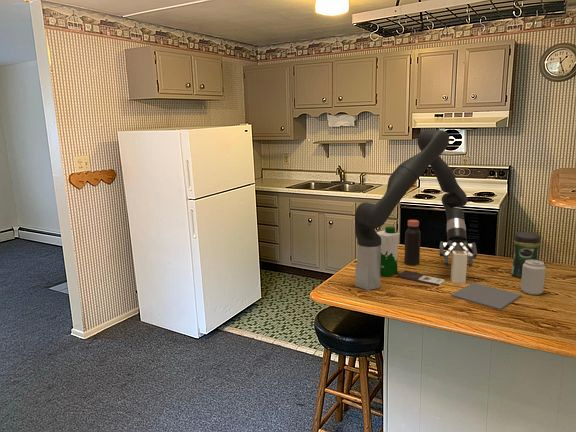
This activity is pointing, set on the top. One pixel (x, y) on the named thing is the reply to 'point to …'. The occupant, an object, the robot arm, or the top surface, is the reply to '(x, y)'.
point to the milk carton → (389, 251)
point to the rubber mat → (486, 296)
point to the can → (533, 277)
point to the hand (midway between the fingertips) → (458, 265)
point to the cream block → (458, 266)
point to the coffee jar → (524, 250)
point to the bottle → (412, 243)
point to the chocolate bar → (421, 278)
